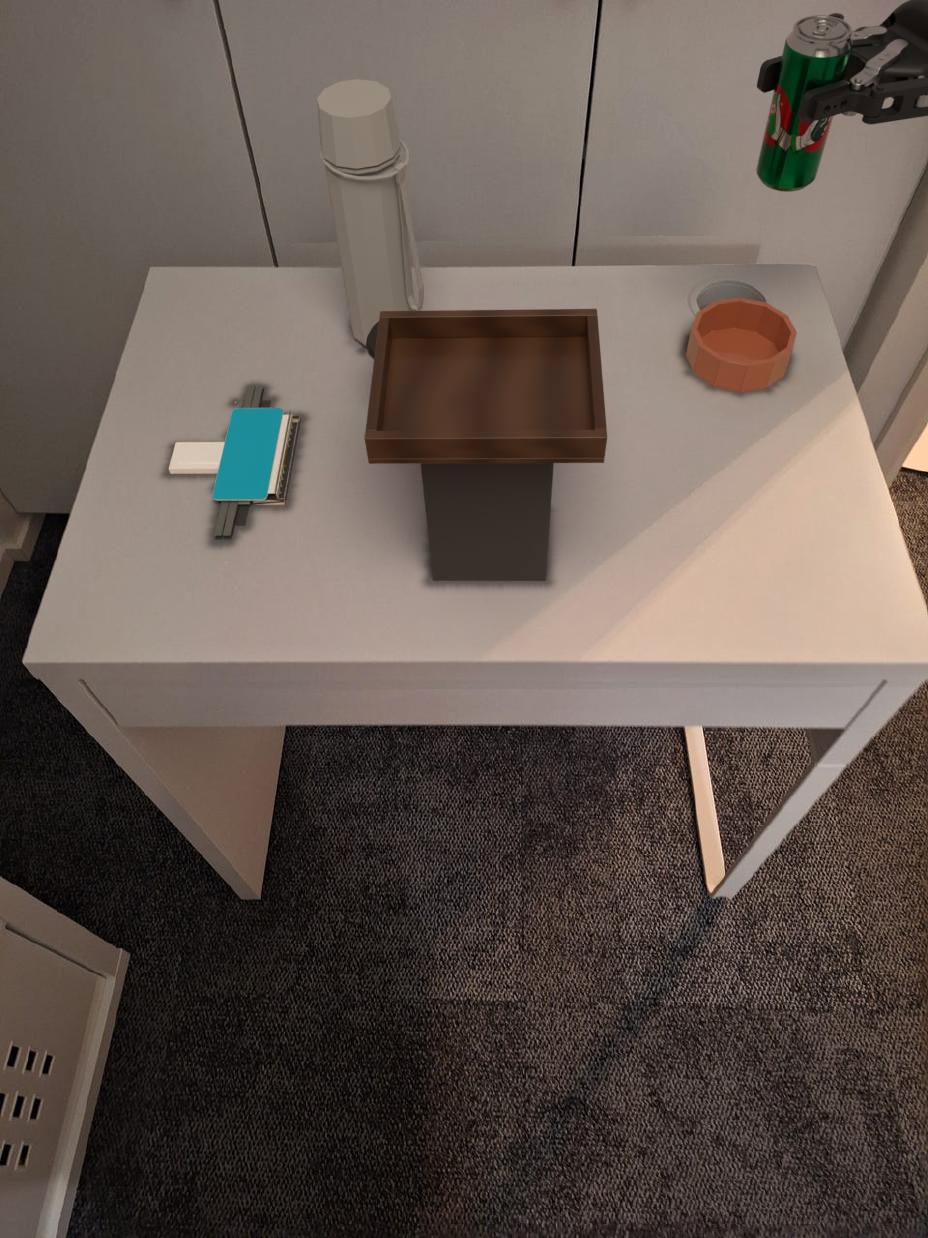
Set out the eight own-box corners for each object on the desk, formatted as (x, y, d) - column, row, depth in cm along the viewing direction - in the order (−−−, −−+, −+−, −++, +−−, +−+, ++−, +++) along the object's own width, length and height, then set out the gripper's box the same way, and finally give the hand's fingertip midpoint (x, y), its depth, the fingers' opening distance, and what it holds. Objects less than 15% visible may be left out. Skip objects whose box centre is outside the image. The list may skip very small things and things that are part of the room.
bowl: (794, 336, 97) (803, 309, 94) (777, 400, 92) (786, 373, 89) (699, 317, 100) (705, 290, 97) (677, 378, 94) (682, 351, 92)
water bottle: (336, 341, 100) (292, 107, 79) (377, 301, 103) (346, 67, 82) (406, 370, 97) (380, 134, 76) (446, 327, 100) (432, 91, 79)
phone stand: (193, 390, 96) (189, 378, 95) (306, 389, 95) (303, 377, 94) (152, 540, 85) (146, 528, 84) (279, 540, 84) (275, 528, 83)
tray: (594, 334, 72) (597, 308, 70) (604, 463, 64) (607, 437, 62) (383, 336, 72) (379, 310, 70) (368, 463, 65) (364, 438, 63)
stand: (544, 511, 85) (552, 359, 70) (545, 581, 81) (555, 434, 66) (437, 512, 86) (423, 360, 71) (433, 581, 81) (417, 435, 66)
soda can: (820, 168, 80) (863, 17, 70) (806, 199, 78) (849, 47, 68) (763, 157, 82) (797, 8, 72) (747, 187, 79) (781, 37, 69)
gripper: (909, -44, 77) (738, 4, 73) (1038, 25, 69) (855, 82, 66) (879, 52, 83) (720, 101, 79) (995, 125, 75) (825, 182, 72)
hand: (782, 92), depth 72 cm, fingers closed on soda can, 5 cm apart
